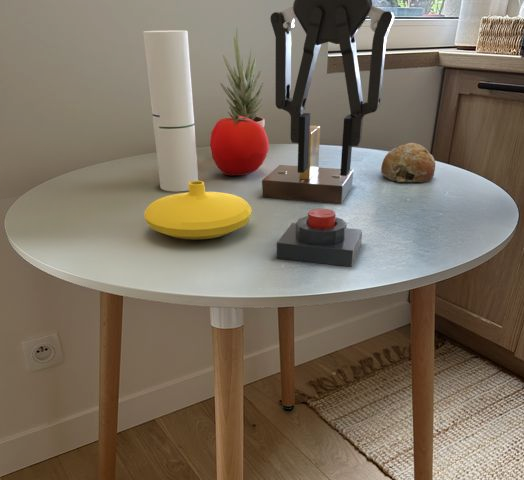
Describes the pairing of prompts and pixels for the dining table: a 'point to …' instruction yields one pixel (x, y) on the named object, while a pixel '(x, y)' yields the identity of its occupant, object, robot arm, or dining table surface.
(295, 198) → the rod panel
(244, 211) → the vase
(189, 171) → the cylindrical container
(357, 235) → the button block
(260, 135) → the tomato
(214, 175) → the dining table surface
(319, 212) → the red button
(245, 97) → the potted plant
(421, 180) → the bread roll
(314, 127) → the upright wooden block
